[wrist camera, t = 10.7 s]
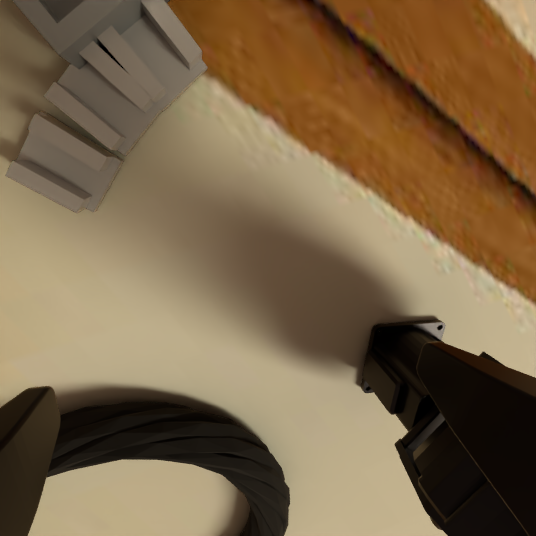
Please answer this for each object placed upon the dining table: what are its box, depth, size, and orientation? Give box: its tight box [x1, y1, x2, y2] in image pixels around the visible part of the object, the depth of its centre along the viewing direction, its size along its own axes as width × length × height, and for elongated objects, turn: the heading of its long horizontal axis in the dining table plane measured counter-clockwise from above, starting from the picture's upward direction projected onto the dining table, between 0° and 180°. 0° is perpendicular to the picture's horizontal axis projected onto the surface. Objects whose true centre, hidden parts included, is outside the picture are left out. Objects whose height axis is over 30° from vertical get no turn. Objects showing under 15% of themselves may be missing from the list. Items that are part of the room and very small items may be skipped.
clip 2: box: [44, 41, 162, 156], centre depth 15 cm, size 4×3×2 cm
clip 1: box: [5, 111, 124, 213], centre depth 15 cm, size 4×3×2 cm
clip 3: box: [97, 0, 207, 112], centre depth 14 cm, size 4×3×2 cm
